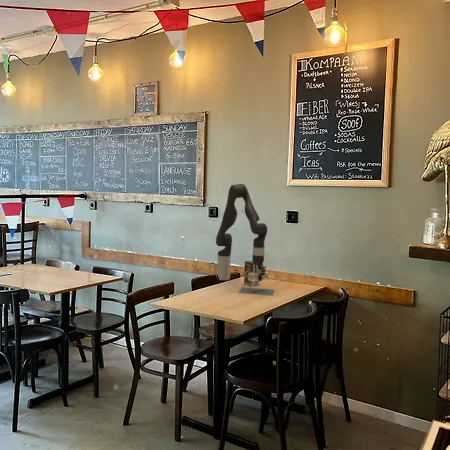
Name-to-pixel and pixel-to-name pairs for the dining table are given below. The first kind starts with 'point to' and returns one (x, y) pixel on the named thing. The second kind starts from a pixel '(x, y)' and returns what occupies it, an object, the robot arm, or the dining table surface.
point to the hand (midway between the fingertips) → (257, 280)
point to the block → (255, 275)
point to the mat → (257, 291)
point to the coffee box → (247, 270)
